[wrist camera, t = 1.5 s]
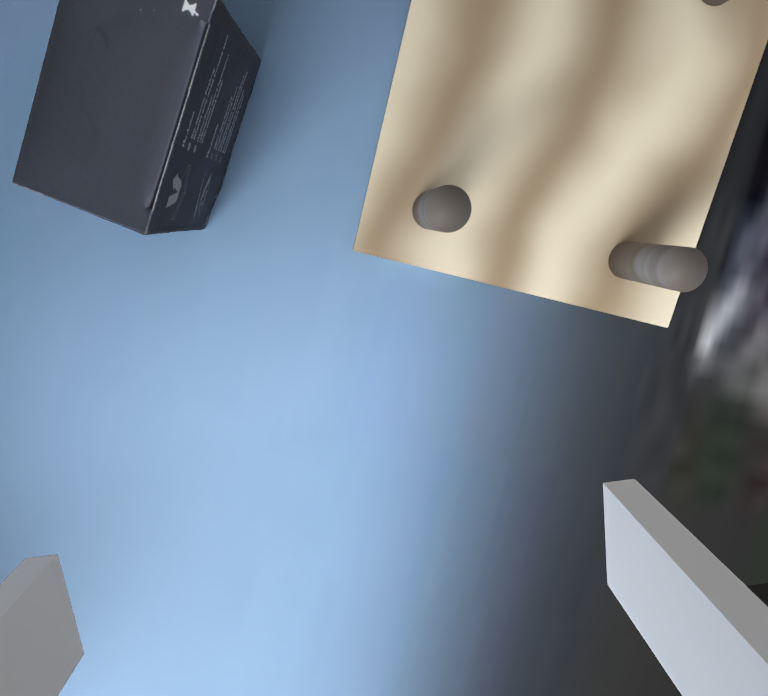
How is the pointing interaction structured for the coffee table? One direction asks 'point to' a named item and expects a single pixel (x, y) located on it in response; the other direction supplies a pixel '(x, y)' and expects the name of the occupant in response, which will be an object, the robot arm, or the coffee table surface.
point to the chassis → (562, 144)
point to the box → (138, 110)
